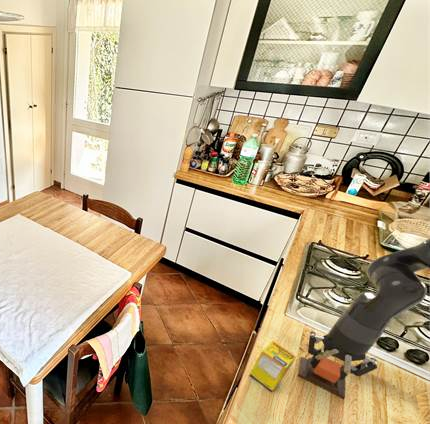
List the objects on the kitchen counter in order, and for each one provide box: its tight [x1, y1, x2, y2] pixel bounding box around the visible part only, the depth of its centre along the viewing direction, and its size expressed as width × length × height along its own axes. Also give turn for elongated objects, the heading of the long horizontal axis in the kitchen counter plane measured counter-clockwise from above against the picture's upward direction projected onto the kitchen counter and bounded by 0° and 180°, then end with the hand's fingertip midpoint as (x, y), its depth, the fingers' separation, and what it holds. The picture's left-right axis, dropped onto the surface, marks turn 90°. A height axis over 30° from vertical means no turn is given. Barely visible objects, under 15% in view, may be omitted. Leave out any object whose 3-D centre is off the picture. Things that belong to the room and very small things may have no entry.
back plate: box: [297, 356, 346, 400], centre depth 85 cm, size 10×7×2 cm
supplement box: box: [249, 340, 297, 393], centre depth 82 cm, size 6×6×11 cm
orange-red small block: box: [314, 357, 341, 383], centre depth 83 cm, size 5×5×3 cm
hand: (324, 371), depth 84 cm, fingers closed on orange-red small block, 4 cm apart
